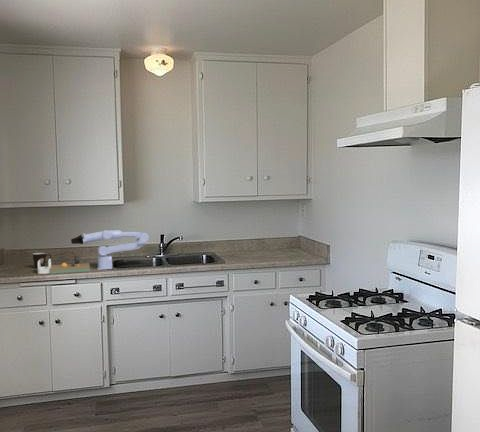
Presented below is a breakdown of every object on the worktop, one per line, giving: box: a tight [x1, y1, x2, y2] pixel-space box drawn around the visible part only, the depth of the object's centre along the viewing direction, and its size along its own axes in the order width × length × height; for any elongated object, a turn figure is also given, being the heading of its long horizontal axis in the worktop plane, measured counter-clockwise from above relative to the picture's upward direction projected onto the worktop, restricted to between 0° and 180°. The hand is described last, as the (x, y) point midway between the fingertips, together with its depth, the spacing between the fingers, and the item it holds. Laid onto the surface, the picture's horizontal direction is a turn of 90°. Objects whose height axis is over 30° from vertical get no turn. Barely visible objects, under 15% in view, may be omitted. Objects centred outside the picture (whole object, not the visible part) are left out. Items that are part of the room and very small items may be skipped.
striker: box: [73, 255, 80, 266], centre depth 337 cm, size 3×6×8 cm, turn 18°
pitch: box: [37, 258, 91, 275], centre depth 334 cm, size 32×12×8 cm, turn 108°
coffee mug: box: [32, 252, 52, 270], centre depth 349 cm, size 12×9×10 cm
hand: (71, 241), depth 335 cm, fingers open, 7 cm apart
